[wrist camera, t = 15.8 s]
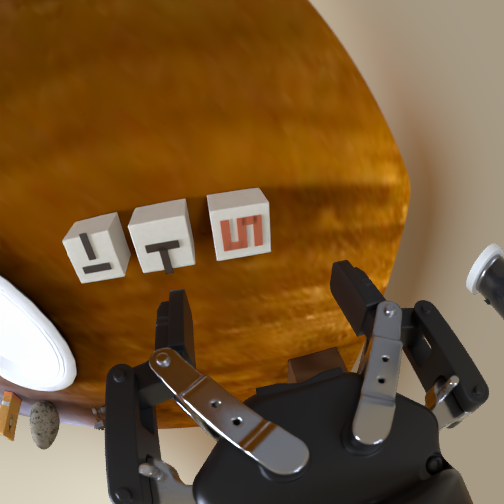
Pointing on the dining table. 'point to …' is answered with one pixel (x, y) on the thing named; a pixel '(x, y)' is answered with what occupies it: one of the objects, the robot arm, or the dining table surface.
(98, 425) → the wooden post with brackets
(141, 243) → the letter cube pair
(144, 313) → the dining table surface
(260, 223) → the tile
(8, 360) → the plate
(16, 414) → the supplement box
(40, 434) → the decorative egg
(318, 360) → the tile rack
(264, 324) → the dining table surface
